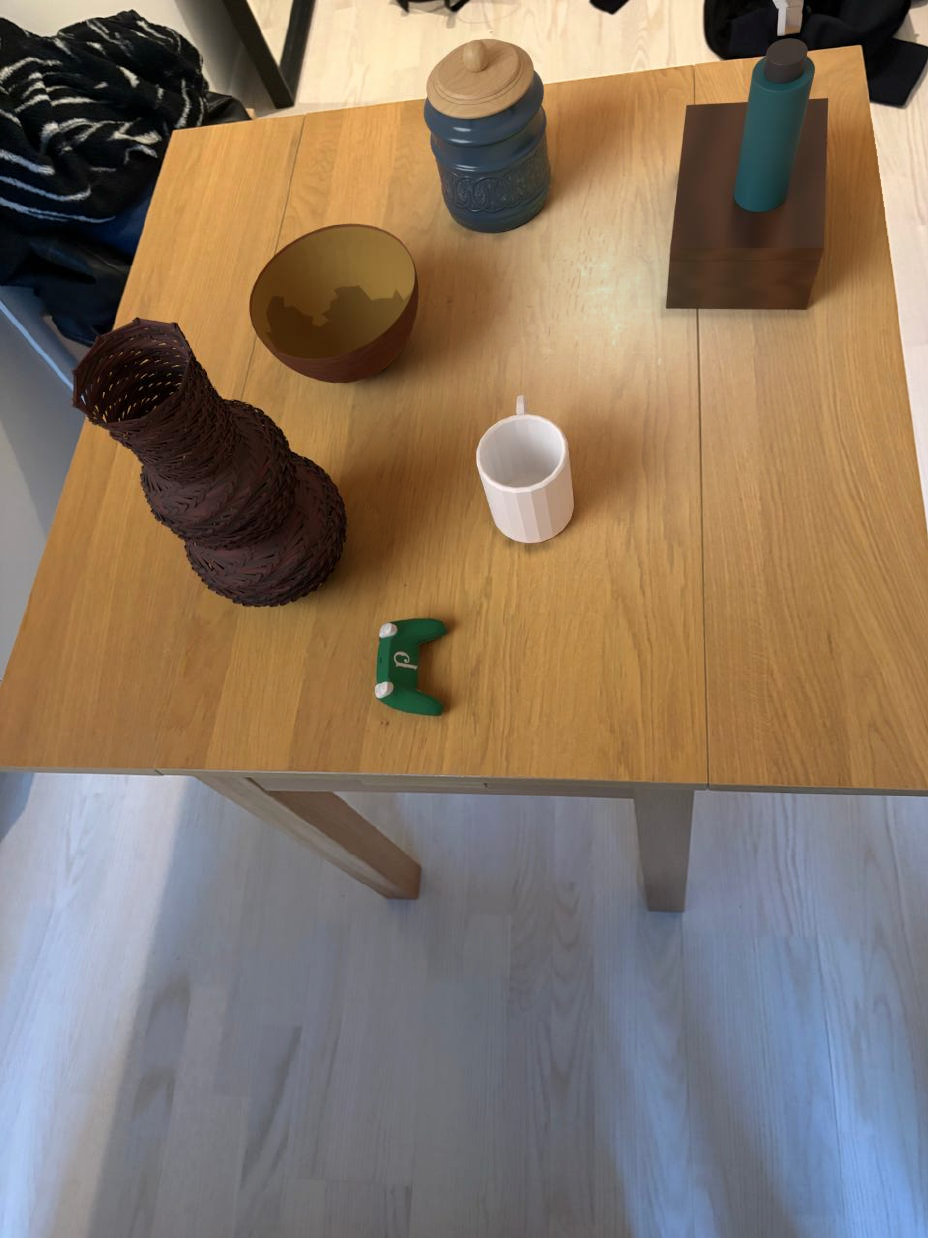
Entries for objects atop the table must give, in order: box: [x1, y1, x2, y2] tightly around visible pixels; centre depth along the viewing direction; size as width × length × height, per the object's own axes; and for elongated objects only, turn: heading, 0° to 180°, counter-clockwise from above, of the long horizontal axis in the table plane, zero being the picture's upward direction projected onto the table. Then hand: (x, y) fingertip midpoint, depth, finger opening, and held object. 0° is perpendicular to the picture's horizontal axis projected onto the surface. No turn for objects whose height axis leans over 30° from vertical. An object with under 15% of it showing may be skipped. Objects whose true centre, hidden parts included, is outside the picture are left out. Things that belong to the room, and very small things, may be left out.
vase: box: [70, 316, 348, 608], centre depth 67 cm, size 15×15×30 cm
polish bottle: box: [734, 38, 816, 212], centre depth 71 cm, size 5×5×14 cm
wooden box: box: [665, 97, 829, 311], centre depth 82 cm, size 14×20×8 cm
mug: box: [475, 394, 575, 544], centre depth 74 cm, size 8×12×10 cm
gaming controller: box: [374, 617, 448, 717], centre depth 72 cm, size 9×4×6 cm
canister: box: [423, 38, 552, 234], centre depth 87 cm, size 13×13×18 cm
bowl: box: [248, 223, 420, 384], centre depth 85 cm, size 18×18×10 cm
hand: (862, 21), depth 55 cm, fingers open, 8 cm apart
